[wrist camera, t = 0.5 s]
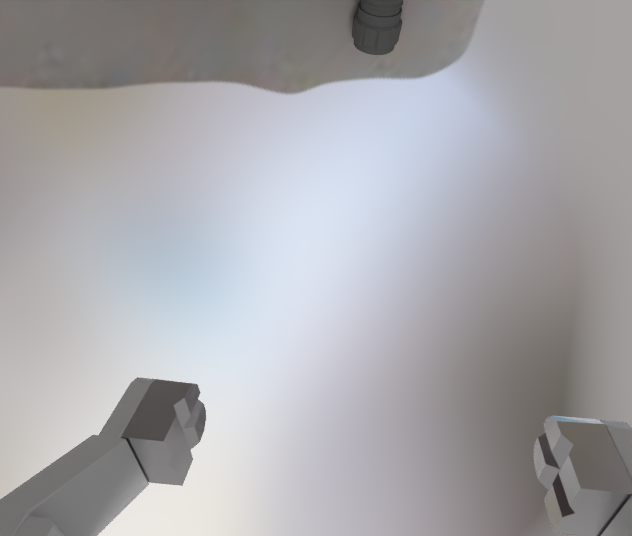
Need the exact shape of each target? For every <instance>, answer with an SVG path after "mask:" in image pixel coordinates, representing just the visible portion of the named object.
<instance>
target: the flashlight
mask: <svg viewBox="0 0 632 536" xmlns="http://www.w3.org/2000/svg"><path fill="white" fill-rule="evenodd" d="M402 4H403V0H360V2H359V5H358V12H357V13H356V14H355V16H354V23H353V31H352V37H353V38H354V45H355V47H356V48H357V49H358V50H360V51H362V52H364V53H368V54H373V55H383V54H387V53H389V52H391V51H392V50H393V49H394V45H395V44H397V42H398V39H399V35H400V30H401V25H402V20H401V18H400V16H401V11H402V9H401V6H402Z"/></svg>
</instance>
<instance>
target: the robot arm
mask: <svg viewBox="0 0 632 536" xmlns="http://www.w3.org/2000/svg"><path fill="white" fill-rule="evenodd" d="M199 394H200V391H199V388H198V385H197V384H192V383H183V382H174V381H165V380H157V379H147V378H136V379H135V380H134V381H133V382H132V383H131V384H130V385H129V387H128V388H127V390H126V392H125V394H124V395H123V397H122V398H121V400H120V401H119V403H118V405H117V406H116V408H115V410H114V411H113V413H112V414H111V416H110V418H109V419H108V421H107V423H106V424H105V426H104V427H103V429H102V431H101V432H100V434H99V435H92V436H91V437H89V438H88V439H86V440H85V441H83V442H82V443H81V444H79V445H78V446H76V447H75V448H74V449H72V450H71V451H69V452H68V453H66V454H65V455H63V456H62V457H61V458H59V459H58V460H56V461H55V462H53V463H52V464H51V465H49V466H48V467H46V468H45V469H43V470H42V471H40V472H39V473H38V474H36V475H35V476H33V477H32V478H31V479H29V480H28V481H26V482H25V483H23V484H22V485H20V487H18V488H16V489H15V490H13V491H12V492H10V493H9V494H8V495H6V496H5V497H3V498H2V499H0V536H97V535H98V534H99V533H100V532H101V531H102V530H103V529H104V528H105V527H106V526H107V525H108V524H109V523H110V522H111V521H112V520H113V519H114V518H115V517H116V516H117V515H118V514H119V513H120V512H121V511H122V510H123V509H124V508H125V507H126V506H127V505H128V504H130V502H132V500H134V499H135V498H136V497H137V496H138V495H139V493H141V492H142V491H143V490H144V489H145V488H146V487H147V486H148V482H151V483H161V484H173V485H183V483H184V480H185V477H186V475H187V473H188V470H189V468H190V465H191V463H192V460H193V458H192V454H191V451H190V450H191V448H193V447H194V446H195V445H197V444H198V443H199V442H200V440H201V437H202V434H203V432H204V427H205V421H206V410H205V407H204V404H203V403H202V402H201V401H199V400H198V397H199ZM543 426H544V429H545V433H544V434H542V435H541V436H539V437H538V438H537V440H536V443H535V445H534V464H535V469H536V474H537V477H538V480H539V481H540V482H541V483H542V484H543V485H544V486H545V487H546V488H547V490H548V493H547V495H546V497H545V499H544V502H545V505H546V508H547V512H548V516H549V519H550V523H551V526H552V529H553V532H555V533H561V534H567V535H574V536H632V428H631V427H630V426H629V425H628V424H627V423H624V422H617V421H602V420H597V419H587V418H575V417H562V416H549V417H548V418H546V420H545V422H544V424H543Z"/></svg>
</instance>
